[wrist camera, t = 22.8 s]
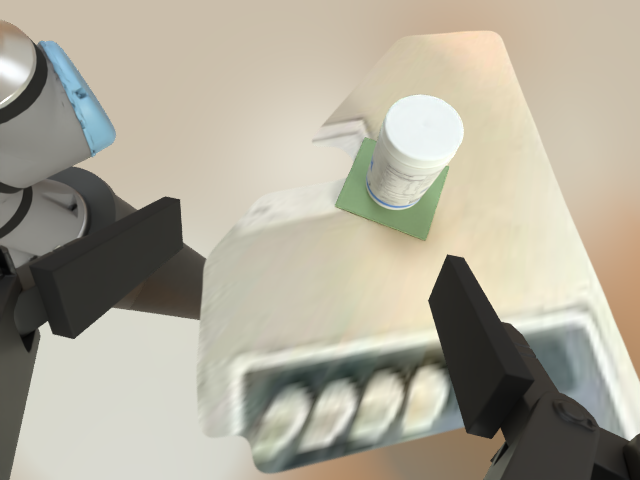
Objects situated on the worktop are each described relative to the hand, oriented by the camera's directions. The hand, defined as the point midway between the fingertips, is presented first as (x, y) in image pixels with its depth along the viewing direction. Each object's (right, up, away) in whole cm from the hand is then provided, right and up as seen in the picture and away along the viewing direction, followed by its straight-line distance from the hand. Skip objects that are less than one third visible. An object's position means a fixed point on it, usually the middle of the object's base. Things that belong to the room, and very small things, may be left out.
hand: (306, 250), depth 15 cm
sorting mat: (+13, +9, +34) cm, 38 cm away
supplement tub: (+13, +9, +34) cm, 37 cm away
